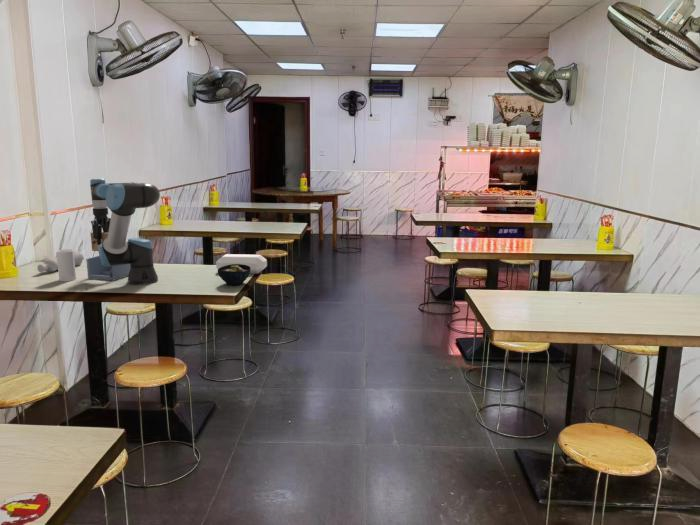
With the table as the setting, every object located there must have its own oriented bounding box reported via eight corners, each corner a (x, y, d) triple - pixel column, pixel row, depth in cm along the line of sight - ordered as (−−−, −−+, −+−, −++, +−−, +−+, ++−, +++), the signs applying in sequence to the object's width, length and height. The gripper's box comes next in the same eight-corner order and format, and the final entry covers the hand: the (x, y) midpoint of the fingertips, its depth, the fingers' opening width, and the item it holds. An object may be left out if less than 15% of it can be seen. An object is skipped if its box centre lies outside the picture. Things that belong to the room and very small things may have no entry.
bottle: (70, 258, 335) (31, 270, 307) (75, 246, 332) (37, 257, 304) (81, 266, 335) (44, 279, 307) (87, 255, 332) (49, 267, 304)
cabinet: (86, 279, 296) (84, 259, 294) (110, 271, 315) (108, 252, 313) (111, 281, 292) (109, 261, 290) (134, 273, 311) (133, 254, 308)
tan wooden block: (115, 250, 297) (114, 232, 295) (109, 252, 293) (107, 234, 291) (97, 249, 300) (95, 231, 298) (90, 251, 296) (89, 233, 294)
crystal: (221, 252, 322) (267, 253, 320) (222, 268, 324) (268, 269, 322) (214, 257, 308) (262, 258, 306) (214, 274, 310) (262, 275, 308)
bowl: (213, 287, 280) (212, 268, 278) (225, 279, 297) (224, 261, 295) (245, 288, 278) (244, 269, 276) (255, 280, 294) (254, 262, 292)
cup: (79, 277, 299) (76, 249, 296) (70, 281, 291) (67, 252, 288) (65, 277, 300) (62, 249, 296) (56, 281, 292) (52, 251, 288)
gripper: (105, 205, 301) (108, 247, 306) (82, 209, 285) (87, 252, 290) (116, 206, 299) (120, 247, 304) (94, 209, 283) (98, 253, 288)
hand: (104, 250), depth 297 cm, fingers closed on tan wooden block, 4 cm apart
